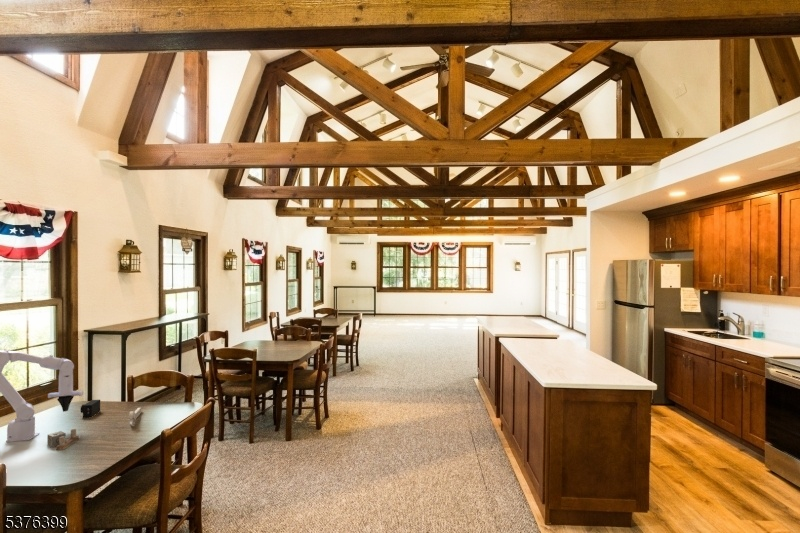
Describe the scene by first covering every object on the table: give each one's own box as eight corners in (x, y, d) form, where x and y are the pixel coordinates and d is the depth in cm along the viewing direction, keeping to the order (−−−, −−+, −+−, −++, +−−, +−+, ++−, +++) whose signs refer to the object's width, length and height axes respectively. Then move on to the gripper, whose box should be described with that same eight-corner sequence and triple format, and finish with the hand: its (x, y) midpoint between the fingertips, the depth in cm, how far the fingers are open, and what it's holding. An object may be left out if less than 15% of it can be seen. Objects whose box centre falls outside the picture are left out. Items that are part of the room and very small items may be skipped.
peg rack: (56, 449, 187) (56, 438, 187) (71, 439, 198) (71, 428, 198) (64, 449, 187) (64, 438, 187) (78, 438, 199) (78, 428, 199)
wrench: (141, 417, 237) (132, 428, 210) (137, 417, 237) (128, 429, 210) (141, 402, 238) (132, 412, 211) (137, 403, 238) (128, 412, 211)
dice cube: (47, 445, 192) (47, 434, 192) (60, 441, 196) (60, 431, 196) (52, 447, 189) (52, 436, 189) (65, 443, 193) (65, 433, 193)
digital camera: (89, 412, 237) (89, 399, 237) (100, 411, 239) (100, 399, 239) (80, 418, 227) (80, 405, 227) (91, 417, 229) (91, 404, 229)
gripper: (44, 386, 206) (44, 414, 205) (78, 384, 209) (78, 412, 209) (52, 383, 212) (52, 410, 212) (85, 381, 216) (85, 407, 216)
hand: (65, 410), depth 211 cm, fingers closed
